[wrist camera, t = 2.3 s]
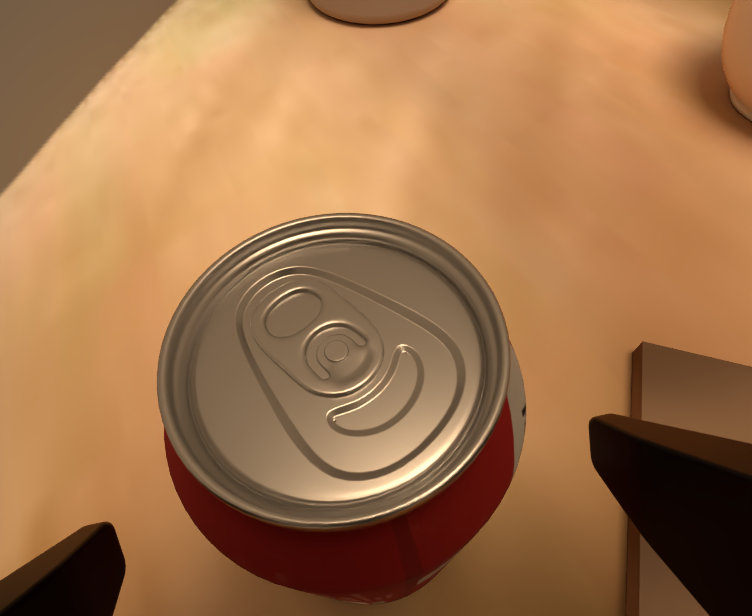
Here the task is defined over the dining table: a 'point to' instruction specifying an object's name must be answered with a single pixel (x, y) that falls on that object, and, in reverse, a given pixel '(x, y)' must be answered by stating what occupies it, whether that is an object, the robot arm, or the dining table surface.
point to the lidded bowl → (739, 55)
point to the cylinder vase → (375, 10)
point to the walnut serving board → (691, 412)
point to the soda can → (341, 405)
